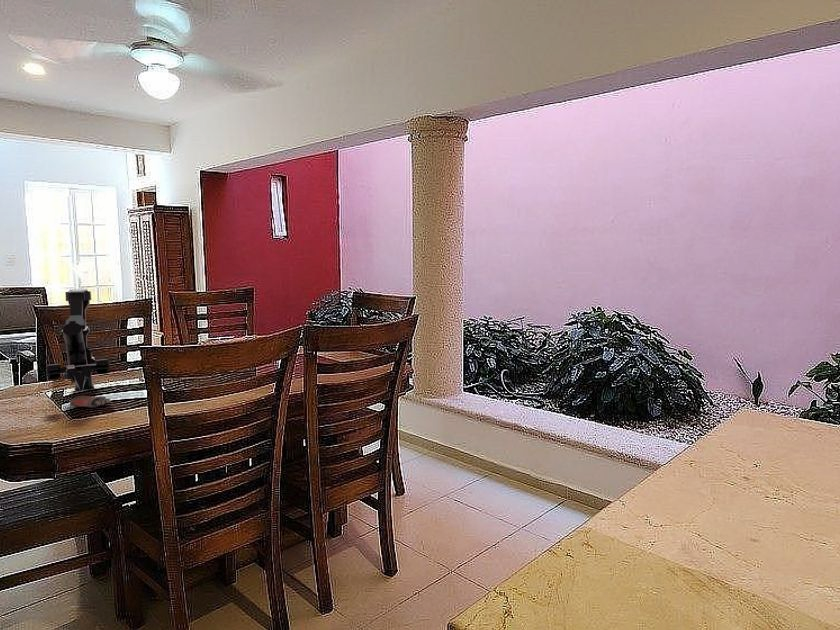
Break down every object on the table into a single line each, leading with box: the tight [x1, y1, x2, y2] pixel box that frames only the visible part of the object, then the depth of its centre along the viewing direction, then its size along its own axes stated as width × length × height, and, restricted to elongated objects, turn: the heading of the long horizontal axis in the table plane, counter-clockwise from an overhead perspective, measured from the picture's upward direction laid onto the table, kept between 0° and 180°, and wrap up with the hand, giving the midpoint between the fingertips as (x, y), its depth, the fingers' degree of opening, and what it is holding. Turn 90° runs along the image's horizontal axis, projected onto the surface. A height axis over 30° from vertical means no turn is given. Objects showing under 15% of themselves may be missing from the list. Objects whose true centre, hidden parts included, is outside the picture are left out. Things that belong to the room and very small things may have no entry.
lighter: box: [69, 395, 111, 408], centre depth 198 cm, size 8×3×10 cm
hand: (81, 389), depth 195 cm, fingers closed
